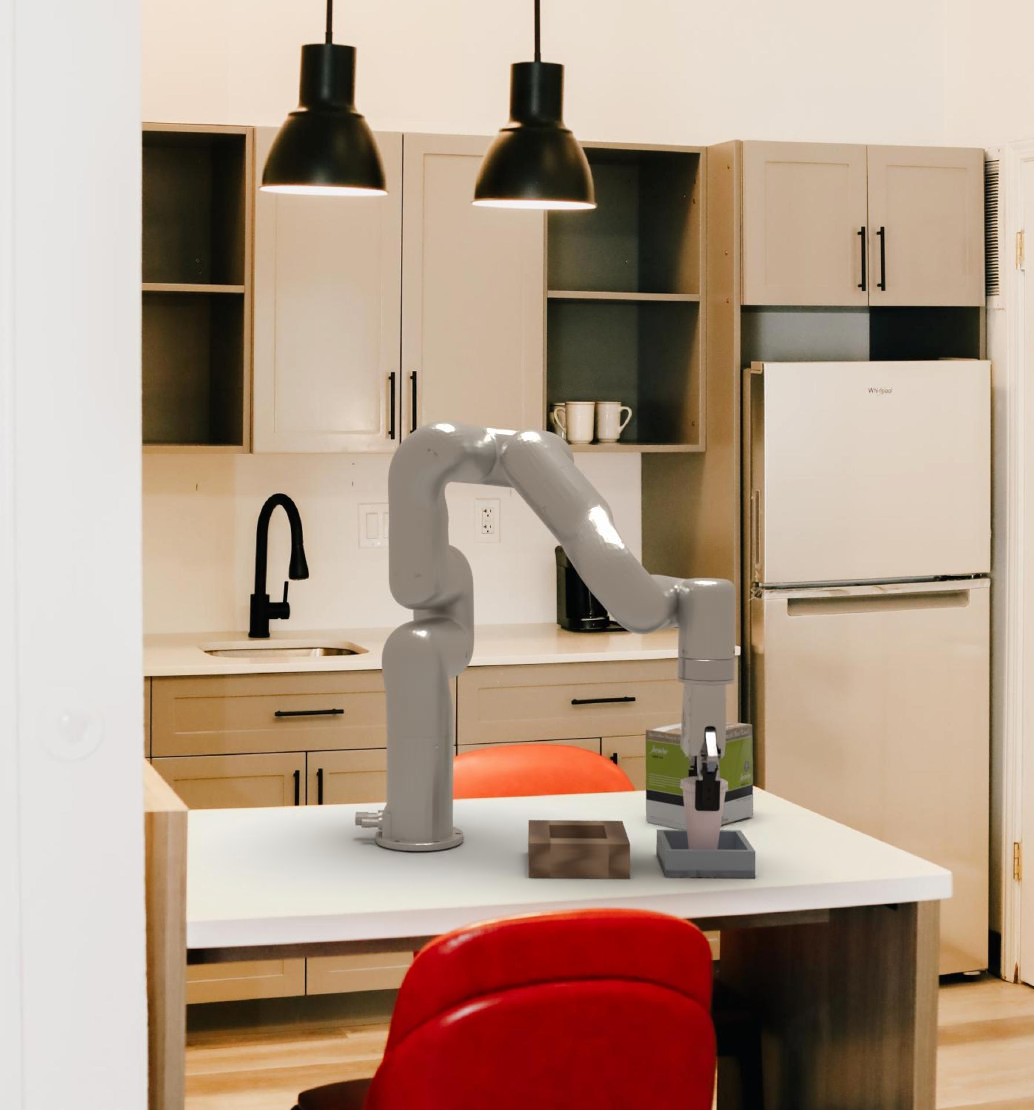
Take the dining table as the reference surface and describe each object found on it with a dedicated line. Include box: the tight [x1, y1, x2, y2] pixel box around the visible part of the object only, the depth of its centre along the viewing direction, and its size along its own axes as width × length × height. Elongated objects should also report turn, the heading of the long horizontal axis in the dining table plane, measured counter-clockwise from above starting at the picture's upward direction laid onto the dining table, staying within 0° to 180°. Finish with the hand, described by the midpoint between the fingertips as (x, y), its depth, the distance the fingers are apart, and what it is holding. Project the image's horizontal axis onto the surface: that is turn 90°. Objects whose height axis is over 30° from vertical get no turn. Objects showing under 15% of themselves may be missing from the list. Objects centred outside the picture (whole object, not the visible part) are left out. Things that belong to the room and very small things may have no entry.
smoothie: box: [680, 776, 728, 850], centre depth 180 cm, size 6×6×14 cm
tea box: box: [645, 720, 754, 830], centre depth 207 cm, size 15×10×15 cm
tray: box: [655, 829, 756, 879], centre depth 180 cm, size 12×12×4 cm
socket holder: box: [527, 819, 631, 880], centre depth 180 cm, size 13×13×4 cm
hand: (703, 803), depth 180 cm, fingers closed on smoothie, 6 cm apart
